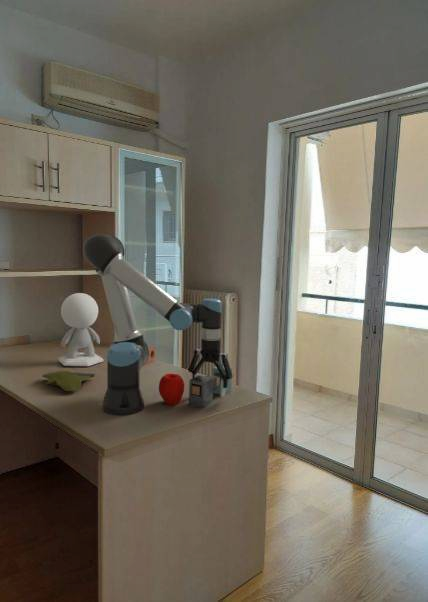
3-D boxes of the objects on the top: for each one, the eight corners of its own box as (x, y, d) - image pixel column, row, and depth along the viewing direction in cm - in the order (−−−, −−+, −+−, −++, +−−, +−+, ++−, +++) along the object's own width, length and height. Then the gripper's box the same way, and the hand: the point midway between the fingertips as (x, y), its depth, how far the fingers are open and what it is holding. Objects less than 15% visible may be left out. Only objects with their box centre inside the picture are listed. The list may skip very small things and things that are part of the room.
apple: (152, 403, 171) (153, 372, 169) (172, 397, 178) (172, 368, 177) (170, 410, 164) (170, 378, 163) (189, 404, 171) (190, 373, 170)
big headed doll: (92, 354, 244) (92, 290, 240) (107, 364, 225) (107, 295, 221) (55, 358, 233) (54, 291, 229) (67, 368, 214) (66, 296, 210)
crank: (142, 358, 239) (142, 343, 238) (155, 359, 237) (155, 345, 236) (122, 367, 221) (123, 351, 220) (137, 369, 218) (137, 353, 217)
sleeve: (203, 409, 166) (204, 382, 165) (188, 406, 169) (189, 379, 168) (212, 404, 172) (213, 378, 171) (198, 401, 175) (198, 375, 174)
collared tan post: (201, 397, 165) (201, 385, 165) (190, 395, 168) (190, 383, 167) (221, 386, 179) (221, 375, 179) (210, 384, 182) (211, 373, 181)
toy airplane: (110, 386, 190) (110, 375, 189) (61, 397, 175) (61, 385, 174) (80, 371, 210) (80, 361, 209) (33, 380, 195) (33, 369, 194)
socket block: (225, 396, 182) (226, 370, 180) (212, 393, 185) (213, 367, 183) (231, 392, 187) (232, 367, 185) (218, 390, 189) (219, 364, 188)
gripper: (242, 340, 171) (240, 395, 173) (190, 333, 182) (188, 384, 185) (234, 344, 164) (232, 401, 167) (180, 336, 176) (179, 389, 178)
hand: (209, 392), depth 176 cm, fingers open, 11 cm apart
